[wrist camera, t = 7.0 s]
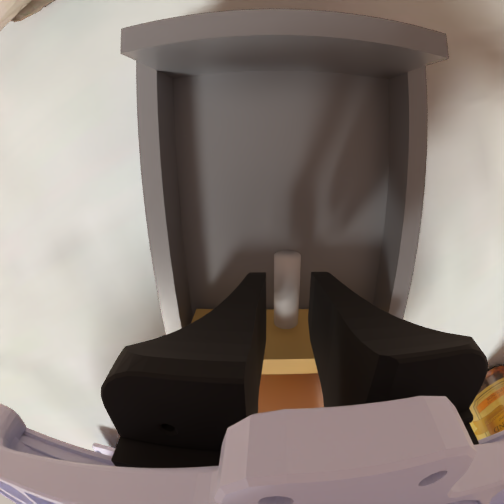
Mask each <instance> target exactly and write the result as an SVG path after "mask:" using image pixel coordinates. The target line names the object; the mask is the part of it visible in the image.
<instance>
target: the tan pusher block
mask: <svg viewBox="0 0 504 504" xmlns="http://www.w3.org/2000/svg"><path fill="white" fill-rule="evenodd" d="M300 267H301V255H300V254H299V253H298V252H295V251H279V252H277V253H275V254H274V309H266V346H265V353H264V360H263V367H262V374H309V373H318V371H317V367H316V363H315V359H314V354H313V350H312V346H311V342H310V335H309V325H308V311H309V309H299V291H300ZM212 310H213V309H196V311H195V314H194V317H193V319H192V322H191V323H193V322H194V321H196V320H198V319H200V318H202V317H203V316H205V315H206V314H207V313H209V312H210V311H212Z"/></svg>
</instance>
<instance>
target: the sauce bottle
mask: <svg viewBox="0 0 504 504" xmlns="http://www.w3.org/2000/svg"><path fill="white" fill-rule="evenodd" d="M469 409H470V411H471V413H472V414H473V421H472V422H471V423H470V425H471V427H472V429H473V431H474V434H475V436H476V438H477V440H480V439H483V438H485V437H488V436H491V435H493V434H496V433H498V432H501V431H503V430H504V366H501V365H500V366H498V367H494V368H492V369H491V370H489V371H488V372H487V374H486V377H485V380H484V382H483V384H482V386H481V388H480V390H479V392H478V394H477V396H476V397H475V399H474V401H473V403H472V404H471V406H470V408H469Z"/></svg>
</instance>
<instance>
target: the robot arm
mask: <svg viewBox="0 0 504 504" xmlns="http://www.w3.org/2000/svg"><path fill="white" fill-rule="evenodd" d="M308 325H309V335H310V342H311V346H312V350H313V354H314V359H315V363H316V367H317V371H318V375H319V379H320V383H321V388H322V394H323V402H324V407H321V408H300V409H281V410H275V411H269V412H263V413H258V398H259V387H260V380H261V374H262V367H263V360H264V353H265V346H266V272H249V273H248V274H247V275H246V276H245V278H244V279H243V280H242V281H241V283H240V284H239V285H238V286H237V287H236V288H235V290H234V291H233V292H232V293H231V294H230V295H229V296H228V297H227V298H226V299H225V300H224V301H223V302H221V303H220V304H219V305H218V306H217V307H216V308H214V309H213V310H212V311H210V312H209V313H207V314H206V315H205V316H203V317H202V318H200V319H198V320H196V321H194V322H193V323H191V324H189V325H187V326H185V327H183V328H181V329H179V330H177V331H174V332H172V333H170V334H167V335H164V336H162V337H159V338H156V339H153V340H149V341H145V342H142V343H138V344H134V345H129V346H125V348H124V349H123V351H122V352H121V353H120V355H119V356H118V358H117V360H116V361H115V363H114V365H113V367H112V369H111V370H110V372H109V374H108V376H107V378H106V379H105V381H104V383H103V385H102V387H101V398H102V401H103V404H104V406H105V408H106V410H107V412H108V414H109V416H110V418H111V420H112V422H113V424H114V426H115V427H116V429H117V431H118V433H119V435H120V436H121V437H120V439H119V441H118V444H117V446H116V448H113V447H109V446H105V445H101V444H97V443H93V446H92V448H93V449H94V451H95V452H94V451H91V450H87V449H84V448H81V447H78V446H75V445H71V444H68V443H66V442H63V441H60V440H57V439H54V438H52V437H49V436H46V435H44V434H41V433H39V432H36V431H34V430H31V429H29V428H26V425H25V424H24V422H23V420H22V419H21V418H20V416H19V415H18V414H17V413H16V412H15V411H14V410H12V409H11V408H9V407H7V406H5V405H3V404H0V494H2V495H3V496H5V497H6V498H8V499H10V500H11V501H13V502H15V503H16V504H504V430H503V431H501V432H498V433H496V434H493V435H491V436H488V437H485V438H483V439H480V440H477V438H476V436H475V434H474V431H473V429H472V427H471V425H470V423H471V422H472V421H473V414H472V413H471V411H470V409H469V408H470V406H471V404H472V403H473V401H474V399H475V397H476V396H477V394H478V392H479V390H480V388H481V386H482V384H483V382H484V380H485V377H486V374H487V369H488V362H487V358H486V356H485V355H484V353H483V352H482V351H481V349H480V348H479V346H478V345H477V344H476V342H475V341H474V340H473V339H472V337H468V336H462V335H456V334H450V333H445V332H440V331H436V330H433V329H429V328H425V327H422V326H419V325H416V324H413V323H411V322H408V321H405V320H403V319H400V318H398V317H396V316H394V315H391V314H390V313H388V312H386V311H384V310H382V309H380V308H378V307H376V306H374V305H373V304H371V303H370V302H368V301H367V300H365V299H363V298H362V297H360V296H359V295H358V294H356V293H355V292H353V291H352V290H351V289H349V288H348V287H347V286H346V285H344V284H343V283H342V282H340V281H339V280H338V279H337V278H335V277H334V276H333V275H331V274H330V273H329V272H311V280H310V296H309V311H308Z"/></svg>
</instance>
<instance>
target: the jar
mask: <svg viewBox="0 0 504 504" xmlns="http://www.w3.org/2000/svg"><path fill="white" fill-rule="evenodd" d="M321 407H324V402H323V394H322V388H321V383H320V379H319V375H318V373H309V374H261V380H260V387H259V398H258V413H263V412H269V411H275V410H281V409H300V408H321Z"/></svg>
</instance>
